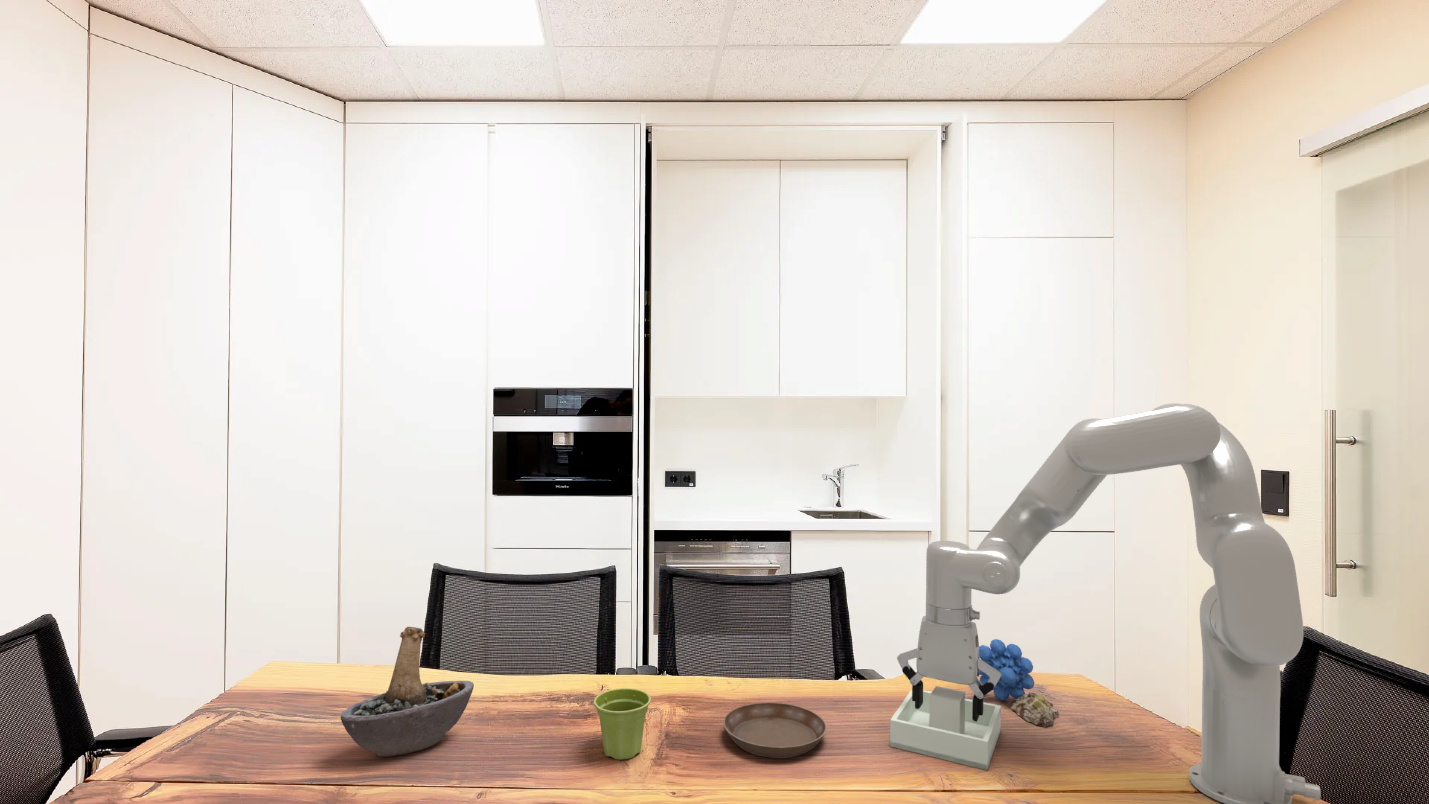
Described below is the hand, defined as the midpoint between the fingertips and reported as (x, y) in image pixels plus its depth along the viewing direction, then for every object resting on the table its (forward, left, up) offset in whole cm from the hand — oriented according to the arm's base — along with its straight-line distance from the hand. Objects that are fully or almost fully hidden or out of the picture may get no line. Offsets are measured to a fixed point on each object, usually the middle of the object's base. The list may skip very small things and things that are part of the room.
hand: (946, 712), depth 125 cm
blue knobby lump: (-7, -21, -5) cm, 23 cm away
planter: (+77, +49, -5) cm, 91 cm away
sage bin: (0, 0, -5) cm, 5 cm away
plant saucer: (+26, +15, -5) cm, 30 cm away
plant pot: (+46, +32, -5) cm, 56 cm away
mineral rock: (-13, -18, -5) cm, 23 cm away
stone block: (0, 0, -4) cm, 4 cm away
